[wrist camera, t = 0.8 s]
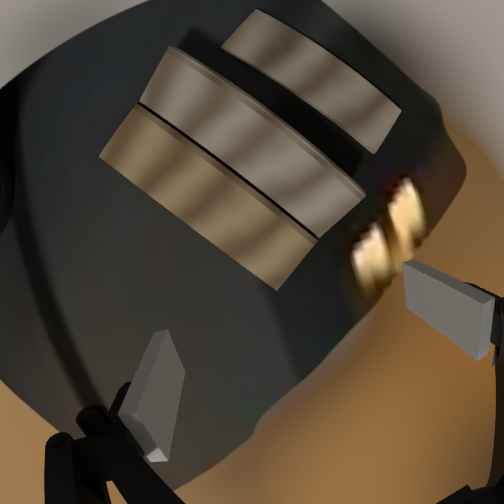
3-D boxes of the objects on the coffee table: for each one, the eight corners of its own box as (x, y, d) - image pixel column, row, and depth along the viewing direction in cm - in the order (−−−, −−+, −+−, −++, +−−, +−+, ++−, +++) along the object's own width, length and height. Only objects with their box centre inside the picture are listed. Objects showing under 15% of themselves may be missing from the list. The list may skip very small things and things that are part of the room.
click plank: (144, 99, 33) (138, 101, 32) (174, 46, 28) (169, 46, 27) (319, 232, 38) (319, 238, 37) (365, 191, 33) (365, 196, 32)
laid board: (102, 157, 34) (98, 156, 33) (139, 105, 33) (136, 103, 32) (275, 287, 39) (276, 291, 38) (314, 238, 38) (317, 240, 37)
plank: (221, 50, 33) (220, 47, 32) (255, 13, 32) (256, 8, 31) (371, 153, 37) (375, 153, 36) (397, 112, 36) (401, 110, 35)
